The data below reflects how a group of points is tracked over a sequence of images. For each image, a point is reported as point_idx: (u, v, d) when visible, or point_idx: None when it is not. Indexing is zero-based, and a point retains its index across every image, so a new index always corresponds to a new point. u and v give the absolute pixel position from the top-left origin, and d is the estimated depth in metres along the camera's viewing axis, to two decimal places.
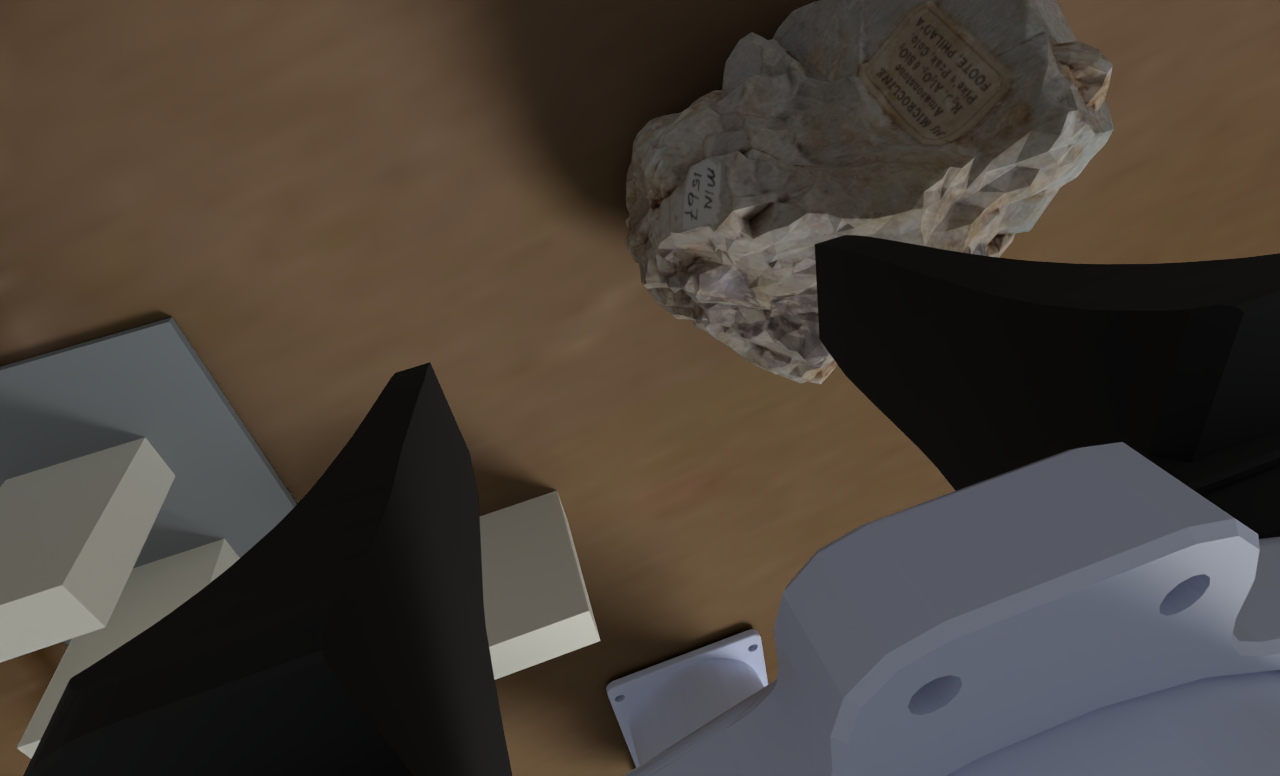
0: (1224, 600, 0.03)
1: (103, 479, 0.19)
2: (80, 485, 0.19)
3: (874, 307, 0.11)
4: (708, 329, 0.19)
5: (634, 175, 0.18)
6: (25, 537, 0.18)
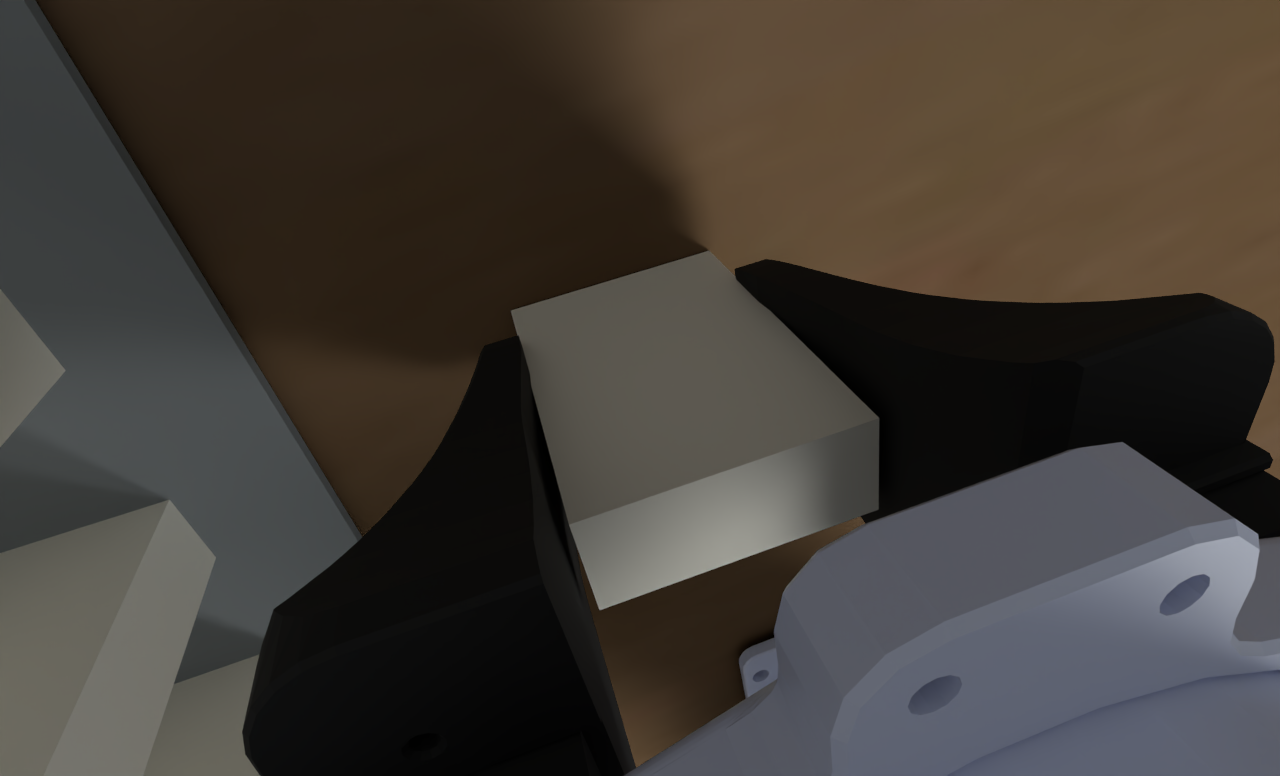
0: (1224, 600, 0.03)
1: None
2: None
3: None
4: None
5: None
6: None
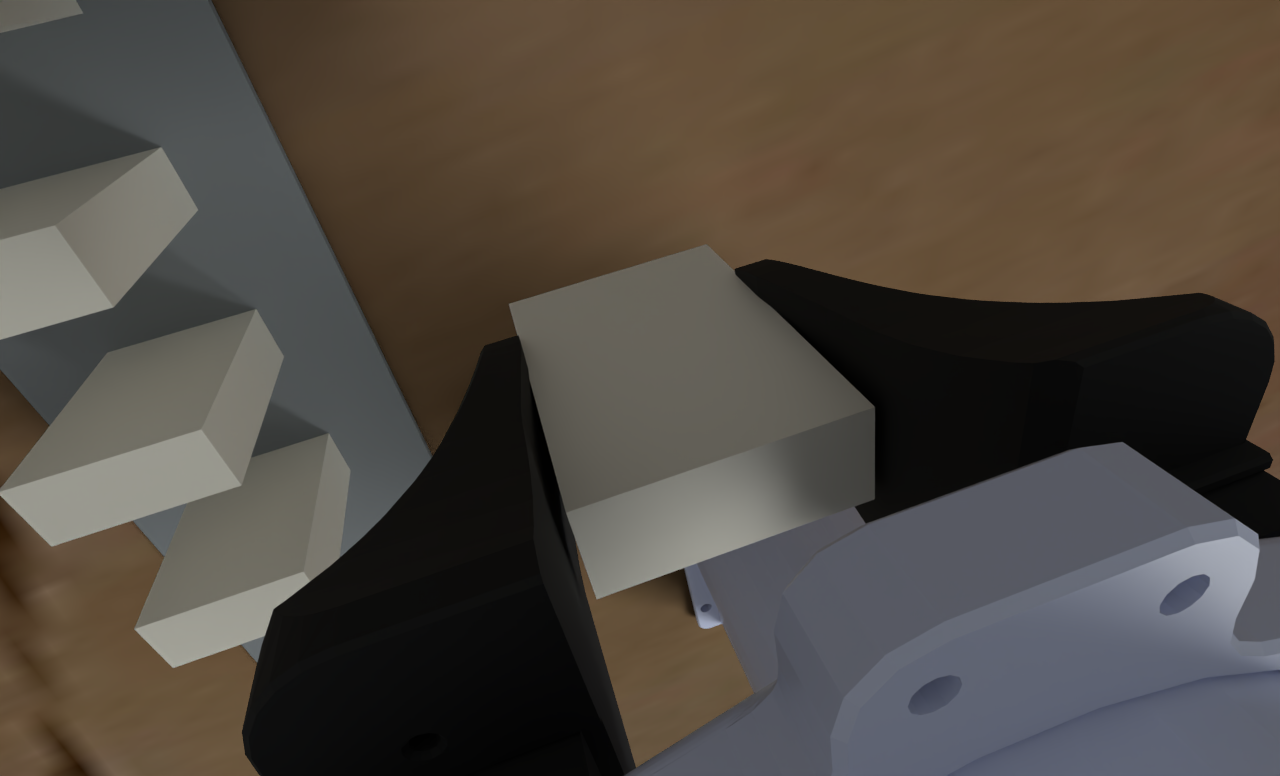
0: (1223, 599, 0.03)
1: None
2: None
3: None
4: None
5: None
6: None
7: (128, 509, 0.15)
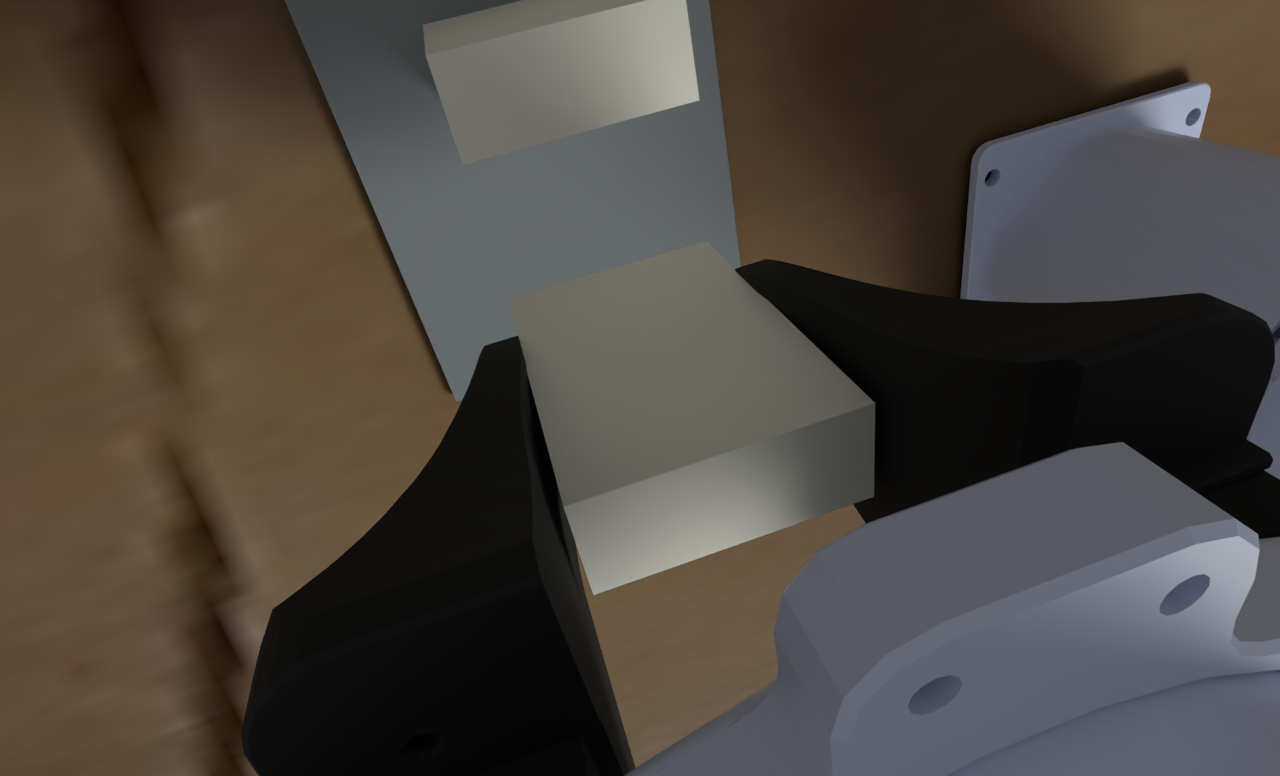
0: (1224, 600, 0.03)
1: None
2: None
3: None
4: None
5: None
6: None
7: None
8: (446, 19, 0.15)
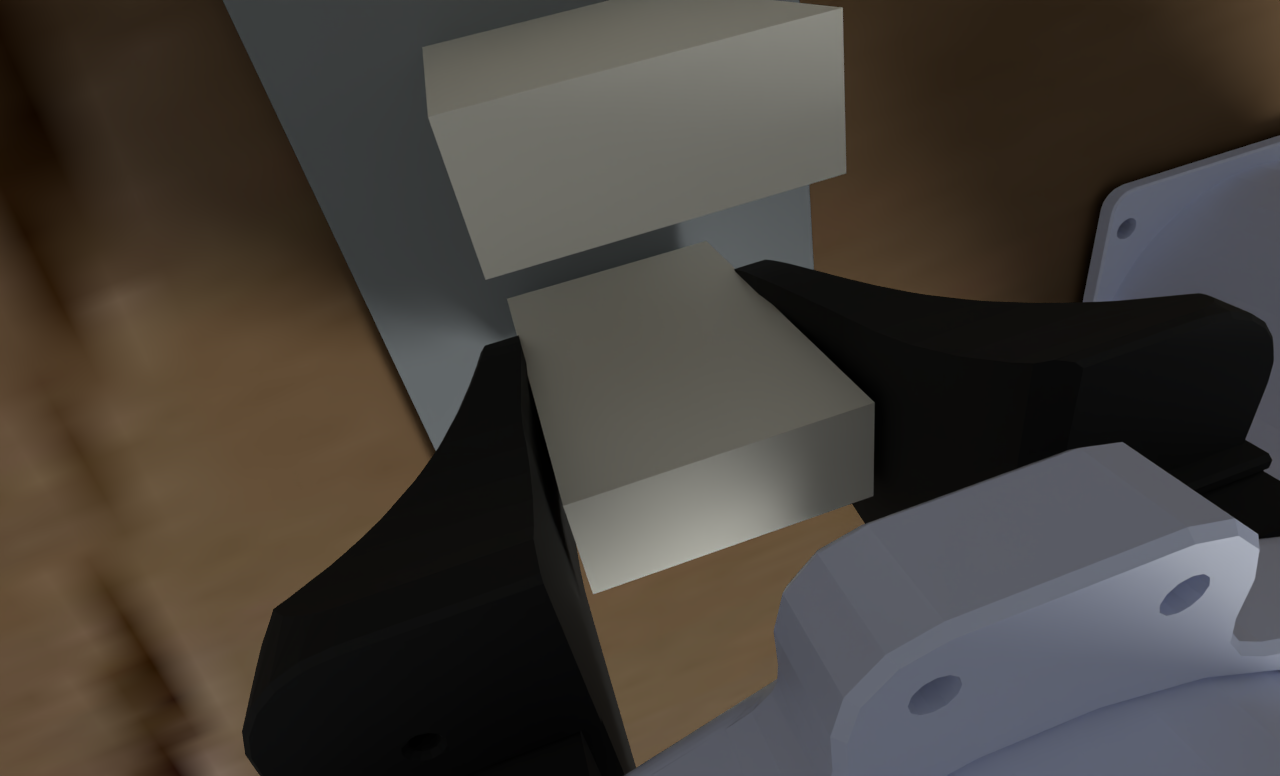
0: (1224, 600, 0.03)
1: None
2: None
3: None
4: None
5: None
6: None
7: None
8: (454, 40, 0.11)
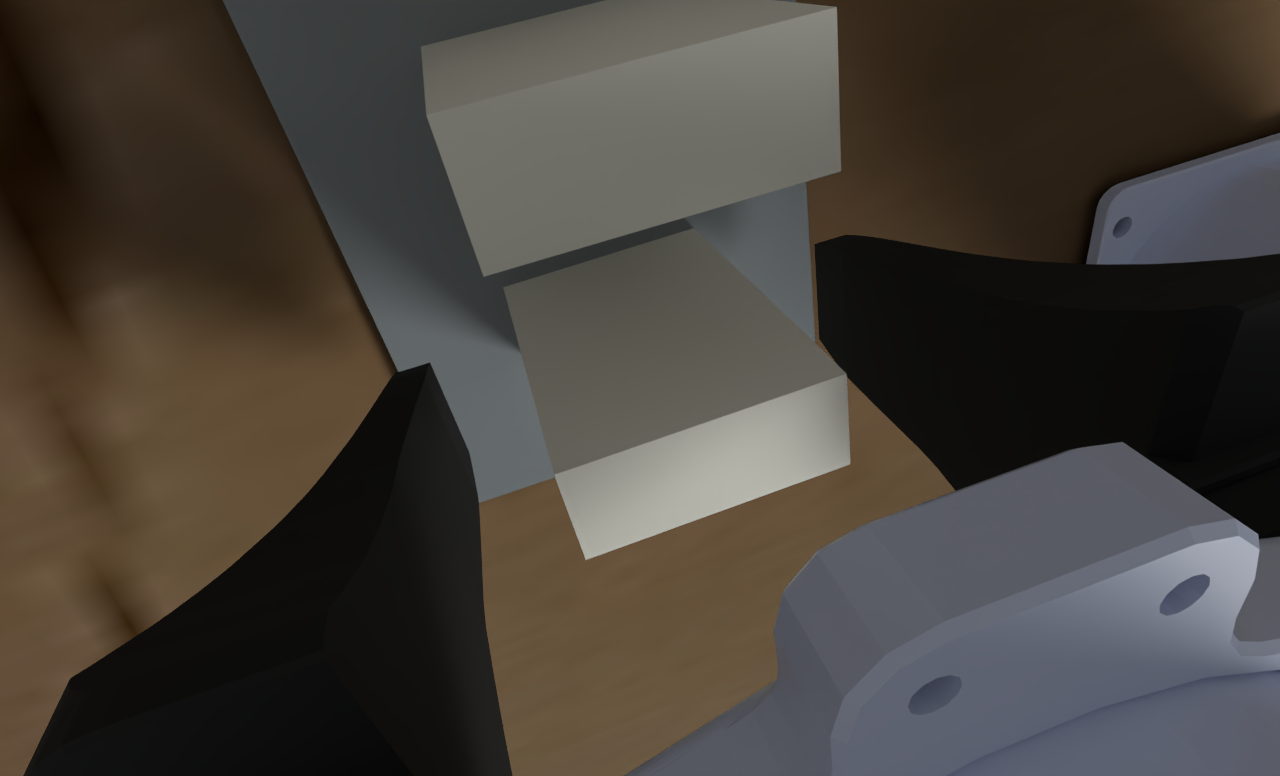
0: (1224, 600, 0.03)
1: None
2: None
3: (874, 307, 0.11)
4: None
5: None
6: None
7: None
8: (452, 39, 0.11)
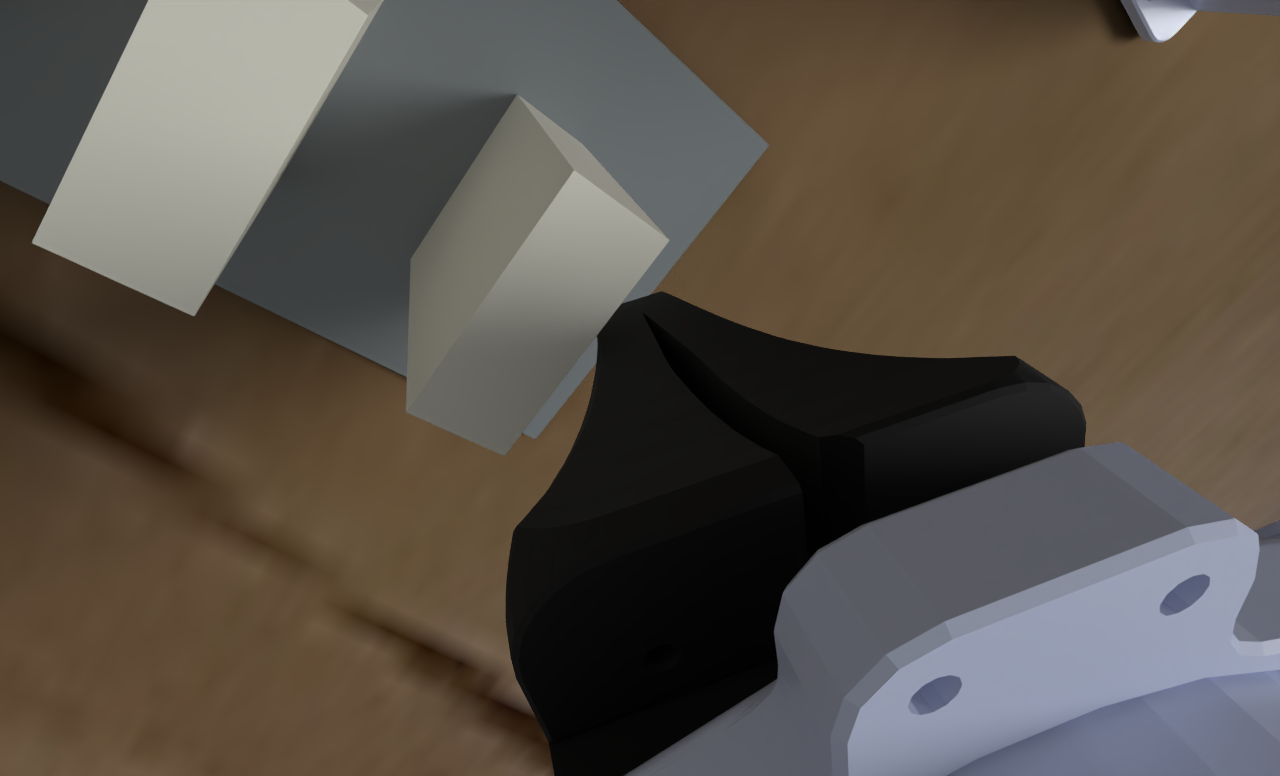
0: (1224, 600, 0.03)
1: None
2: None
3: None
4: None
5: None
6: None
7: None
8: None
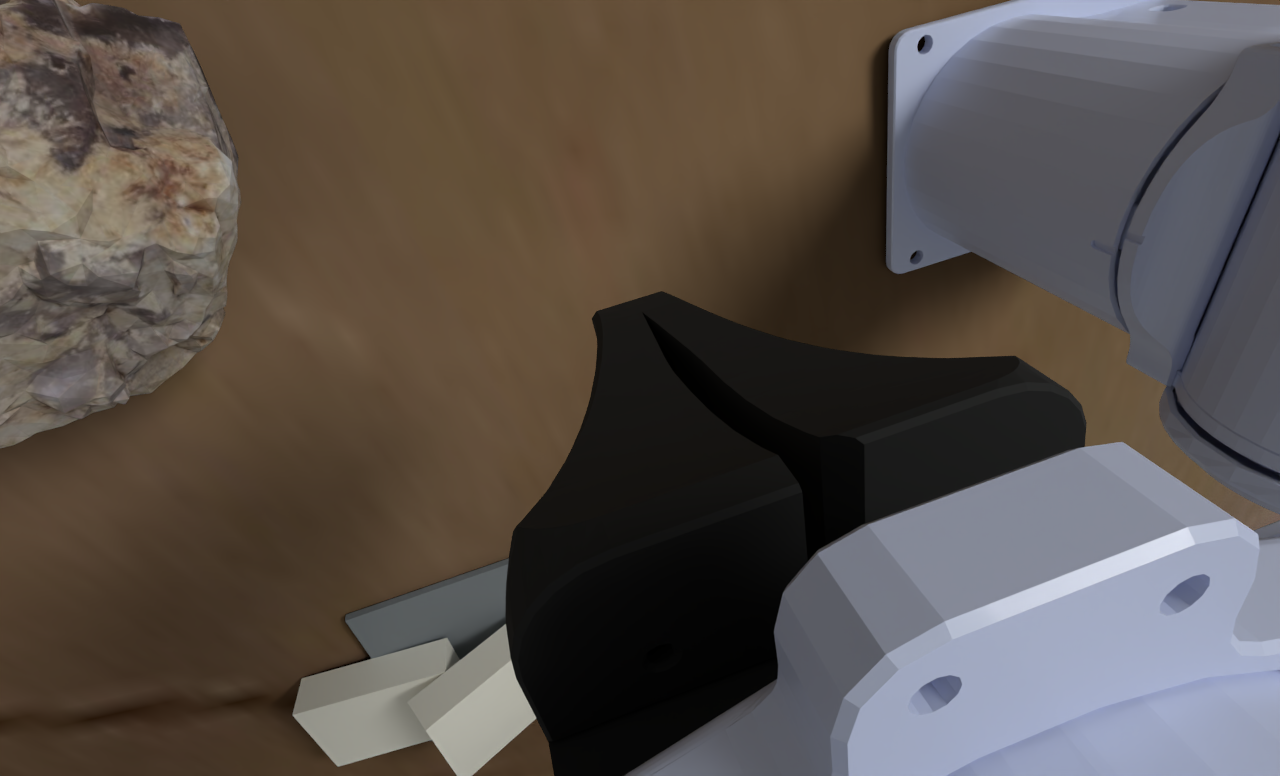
0: (1224, 600, 0.03)
1: None
2: None
3: None
4: (188, 334, 0.15)
5: None
6: None
7: None
8: None
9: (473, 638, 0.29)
